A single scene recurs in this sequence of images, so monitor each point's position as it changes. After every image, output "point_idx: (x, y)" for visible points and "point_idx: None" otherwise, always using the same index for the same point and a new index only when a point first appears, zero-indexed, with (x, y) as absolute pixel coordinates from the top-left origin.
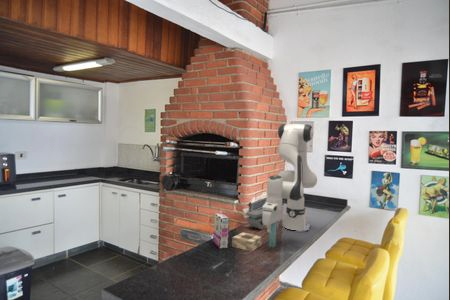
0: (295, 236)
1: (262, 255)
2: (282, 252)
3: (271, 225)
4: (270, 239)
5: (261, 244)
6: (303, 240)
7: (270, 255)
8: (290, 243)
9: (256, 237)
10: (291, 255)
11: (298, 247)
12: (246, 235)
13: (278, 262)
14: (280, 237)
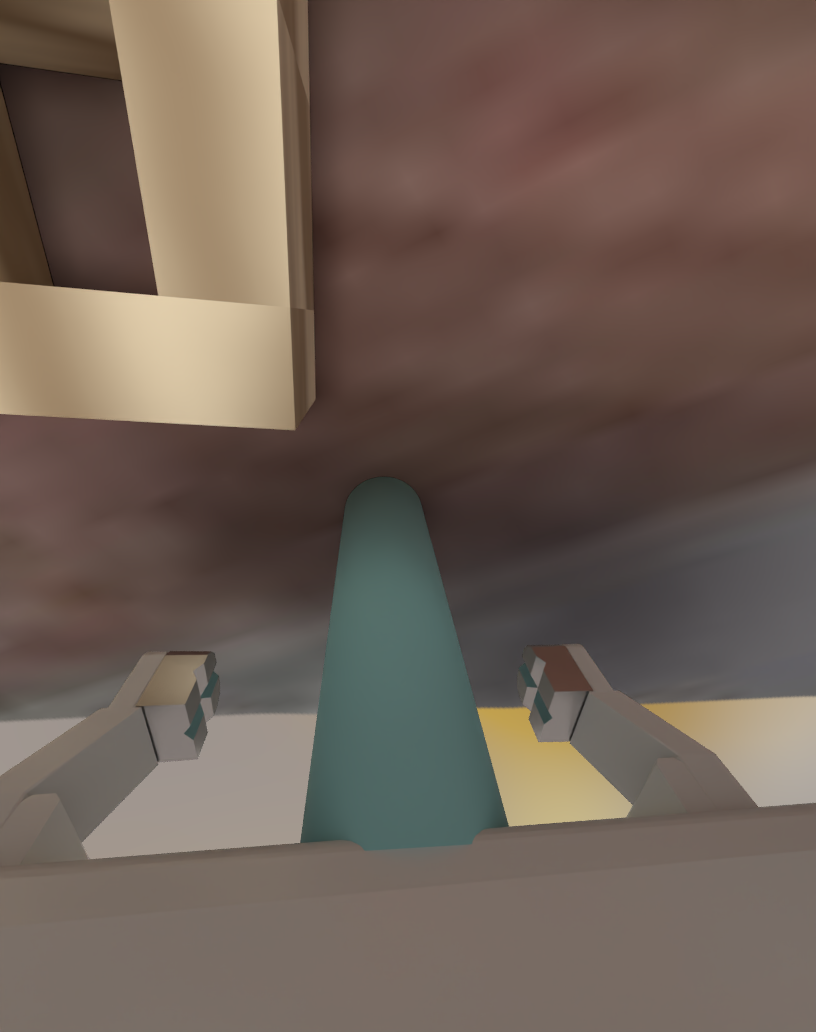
0: (813, 595)
1: (29, 535)
2: (281, 646)
3: (311, 768)
4: (339, 551)
5: (313, 401)
6: (705, 675)
7: (111, 595)
8: (572, 622)
9: (164, 360)
10: (271, 712)
11: (497, 696)
12: (118, 31)
13: (29, 694)
14: (737, 485)
